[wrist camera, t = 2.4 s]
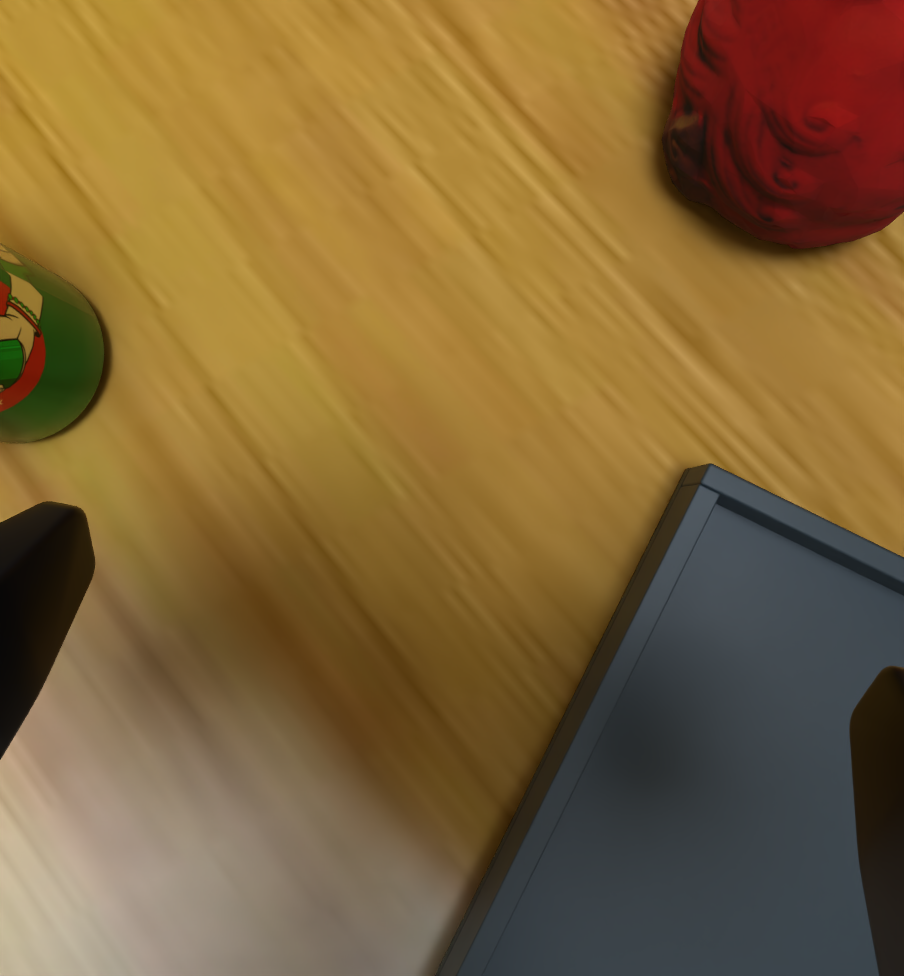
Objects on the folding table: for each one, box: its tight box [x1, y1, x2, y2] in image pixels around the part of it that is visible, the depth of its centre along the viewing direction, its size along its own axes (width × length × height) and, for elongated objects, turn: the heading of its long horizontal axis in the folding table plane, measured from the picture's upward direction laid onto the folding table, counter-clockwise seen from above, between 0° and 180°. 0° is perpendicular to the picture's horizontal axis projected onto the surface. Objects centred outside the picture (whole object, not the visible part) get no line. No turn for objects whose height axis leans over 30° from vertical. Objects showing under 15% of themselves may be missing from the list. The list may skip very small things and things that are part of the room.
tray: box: [435, 464, 904, 976], centre depth 22 cm, size 21×14×2 cm
